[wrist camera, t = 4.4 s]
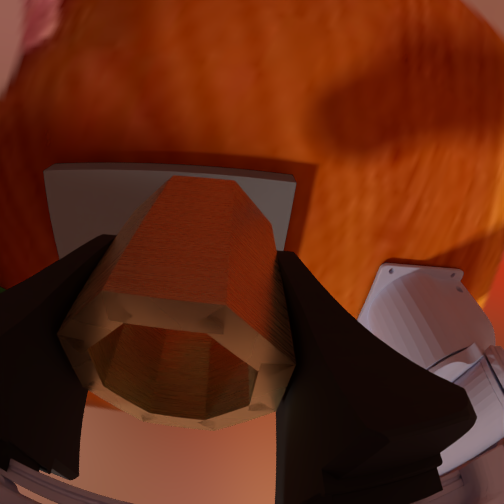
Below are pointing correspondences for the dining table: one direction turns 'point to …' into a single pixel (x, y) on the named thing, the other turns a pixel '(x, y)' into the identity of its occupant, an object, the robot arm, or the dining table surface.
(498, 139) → the dining table surface
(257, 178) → the pin board
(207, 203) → the wooden collar
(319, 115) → the dining table surface
